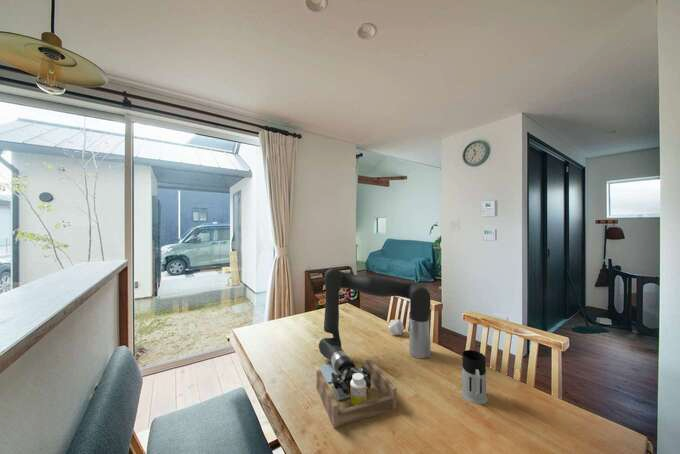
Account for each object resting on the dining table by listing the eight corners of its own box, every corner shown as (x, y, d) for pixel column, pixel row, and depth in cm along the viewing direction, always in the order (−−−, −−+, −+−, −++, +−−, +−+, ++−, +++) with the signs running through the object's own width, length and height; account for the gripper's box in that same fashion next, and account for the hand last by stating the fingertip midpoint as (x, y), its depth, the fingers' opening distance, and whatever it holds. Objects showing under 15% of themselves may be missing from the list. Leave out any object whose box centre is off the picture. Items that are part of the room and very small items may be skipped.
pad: (319, 367, 112) (319, 366, 112) (347, 361, 116) (347, 360, 116) (328, 383, 101) (328, 382, 100) (357, 375, 105) (357, 374, 105)
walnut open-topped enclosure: (316, 388, 98) (316, 370, 98) (369, 374, 106) (369, 358, 106) (333, 428, 79) (333, 406, 78) (396, 408, 87) (396, 388, 86)
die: (400, 340, 137) (408, 323, 140) (386, 331, 139) (394, 315, 141) (397, 338, 145) (404, 323, 148) (384, 330, 146) (391, 315, 149)
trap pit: (331, 387, 98) (331, 386, 98) (359, 380, 102) (359, 379, 102) (338, 401, 90) (338, 399, 90) (368, 393, 95) (368, 391, 95)
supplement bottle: (356, 396, 93) (356, 369, 92) (369, 403, 89) (369, 375, 89) (347, 405, 88) (347, 376, 88) (360, 413, 85) (359, 383, 85)
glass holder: (484, 390, 95) (484, 351, 95) (494, 418, 82) (494, 372, 81) (459, 385, 98) (459, 347, 97) (464, 412, 84) (464, 368, 84)
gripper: (325, 358, 101) (339, 383, 85) (358, 352, 105) (376, 373, 90) (326, 377, 101) (339, 405, 85) (358, 369, 106) (377, 394, 90)
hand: (358, 389), depth 88 cm, fingers open, 8 cm apart
